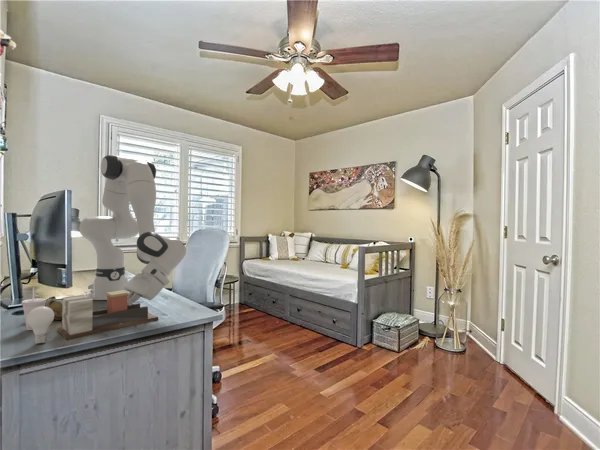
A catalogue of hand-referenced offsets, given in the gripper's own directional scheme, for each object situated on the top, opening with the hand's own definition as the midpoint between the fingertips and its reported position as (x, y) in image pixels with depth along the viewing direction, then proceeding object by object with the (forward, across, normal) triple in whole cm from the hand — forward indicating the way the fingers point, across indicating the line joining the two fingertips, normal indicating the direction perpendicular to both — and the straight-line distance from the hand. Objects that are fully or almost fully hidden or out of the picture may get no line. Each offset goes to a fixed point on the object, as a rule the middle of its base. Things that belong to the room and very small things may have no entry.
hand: (126, 304), depth 114 cm
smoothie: (+22, -14, -12) cm, 29 cm away
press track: (+8, 0, +1) cm, 8 cm away
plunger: (+6, 0, +1) cm, 6 cm away
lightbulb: (+22, +4, -13) cm, 26 cm away
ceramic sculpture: (+17, -23, -7) cm, 30 cm away
